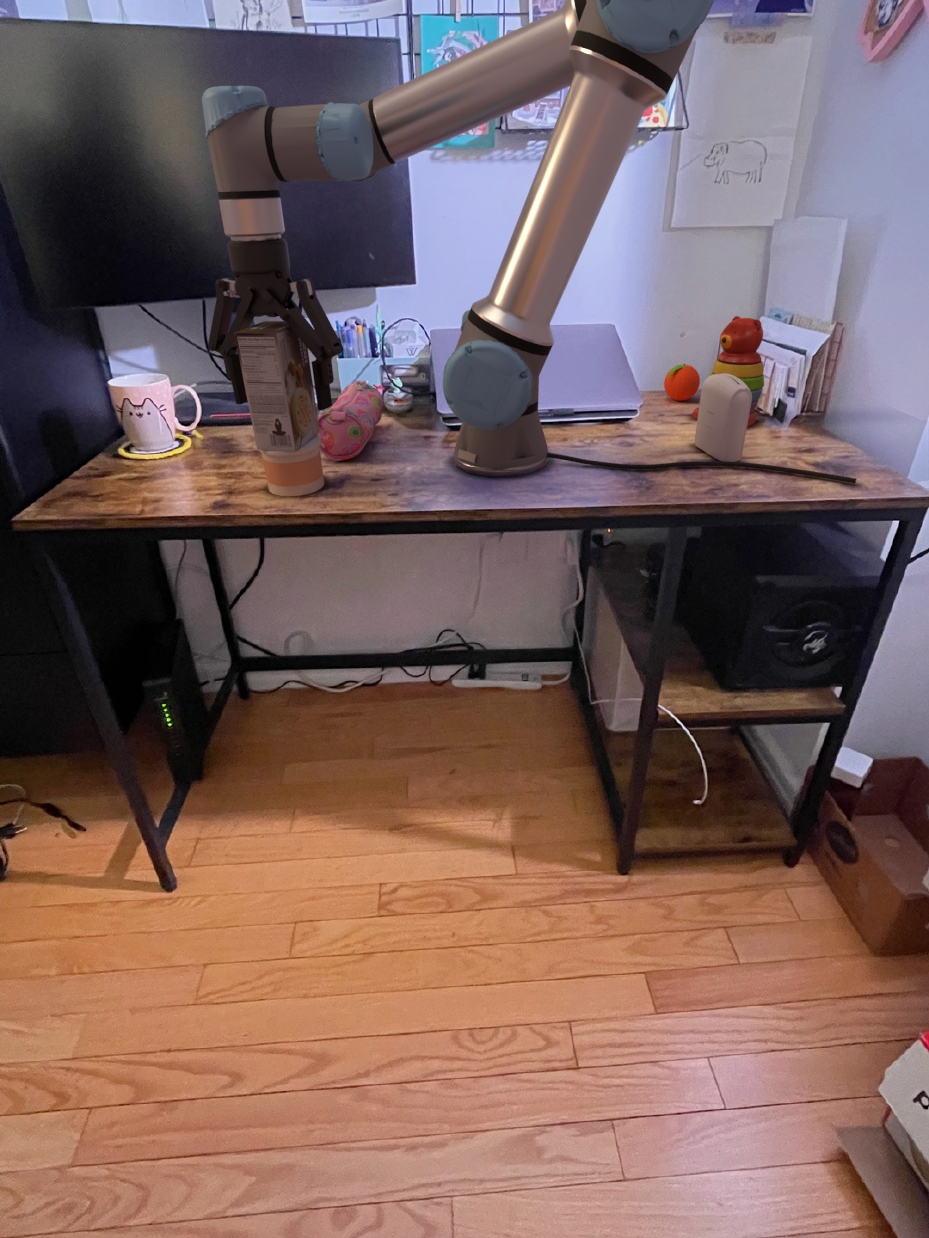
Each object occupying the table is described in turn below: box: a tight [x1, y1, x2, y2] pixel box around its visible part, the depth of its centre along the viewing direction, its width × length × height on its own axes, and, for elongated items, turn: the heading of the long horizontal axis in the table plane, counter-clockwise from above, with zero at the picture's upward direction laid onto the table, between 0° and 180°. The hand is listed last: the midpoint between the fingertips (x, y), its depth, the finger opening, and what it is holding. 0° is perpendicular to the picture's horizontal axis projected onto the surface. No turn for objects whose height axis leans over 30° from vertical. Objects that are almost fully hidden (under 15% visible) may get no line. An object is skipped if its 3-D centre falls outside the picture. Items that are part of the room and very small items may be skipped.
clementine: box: [663, 363, 701, 402], centre depth 141 cm, size 8×7×7 cm
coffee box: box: [234, 320, 320, 451], centre depth 100 cm, size 9×6×16 cm
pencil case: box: [316, 380, 384, 461], centre depth 122 cm, size 21×9×9 cm, turn 176°
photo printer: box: [694, 374, 752, 462], centre depth 112 cm, size 10×4×12 cm, turn 11°
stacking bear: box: [691, 315, 765, 428], centre depth 125 cm, size 11×10×18 cm
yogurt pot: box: [258, 435, 325, 497], centre depth 106 cm, size 9×9×7 cm
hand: (283, 405), depth 101 cm, fingers open, 13 cm apart
